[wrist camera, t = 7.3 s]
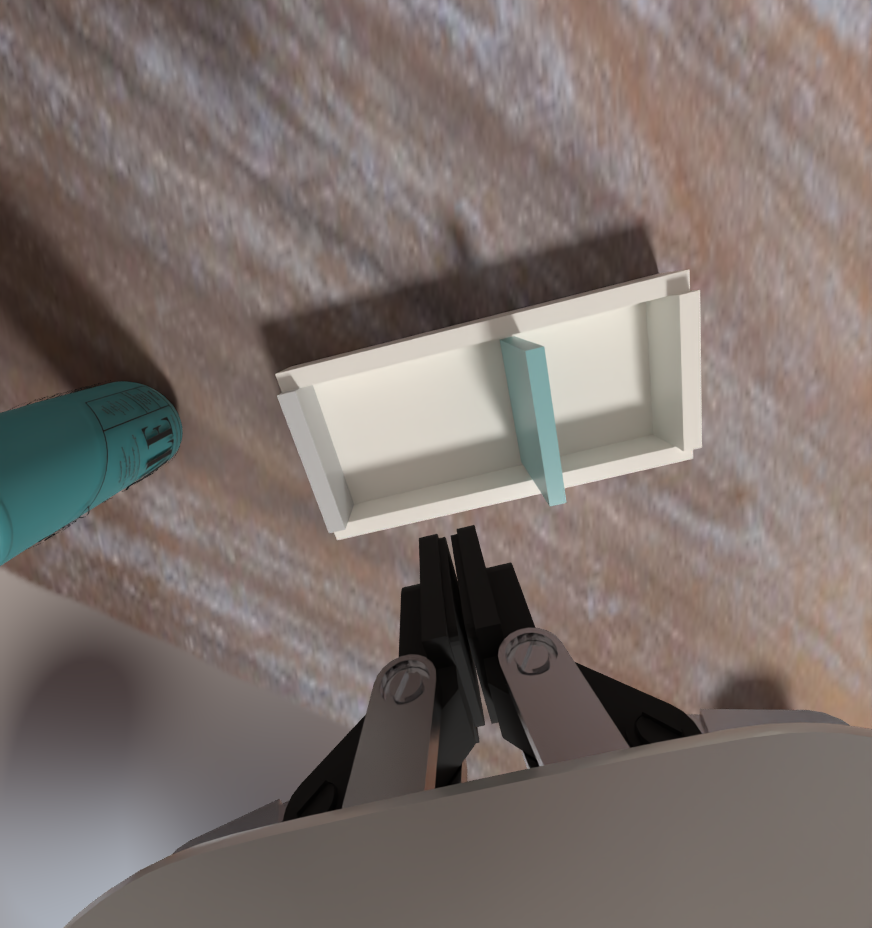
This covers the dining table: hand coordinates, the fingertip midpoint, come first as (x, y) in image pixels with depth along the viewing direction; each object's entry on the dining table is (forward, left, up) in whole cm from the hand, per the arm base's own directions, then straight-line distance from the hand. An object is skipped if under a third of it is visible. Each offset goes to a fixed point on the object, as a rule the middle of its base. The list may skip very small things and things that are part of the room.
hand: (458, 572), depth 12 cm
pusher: (+1, +6, -19) cm, 20 cm away
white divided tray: (+1, +4, -20) cm, 20 cm away
